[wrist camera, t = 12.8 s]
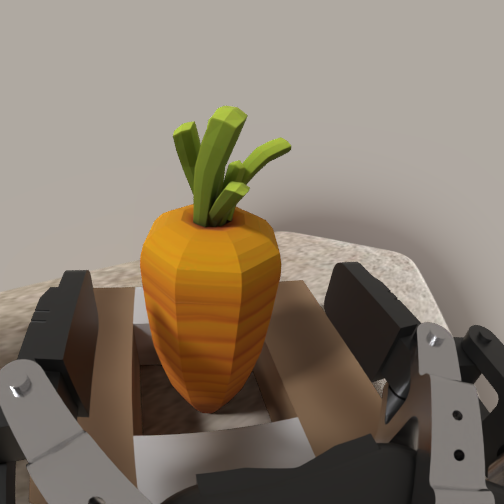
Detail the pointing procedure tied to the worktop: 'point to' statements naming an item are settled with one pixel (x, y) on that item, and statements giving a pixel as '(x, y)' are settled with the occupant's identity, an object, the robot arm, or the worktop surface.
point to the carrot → (212, 268)
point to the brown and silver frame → (238, 439)
